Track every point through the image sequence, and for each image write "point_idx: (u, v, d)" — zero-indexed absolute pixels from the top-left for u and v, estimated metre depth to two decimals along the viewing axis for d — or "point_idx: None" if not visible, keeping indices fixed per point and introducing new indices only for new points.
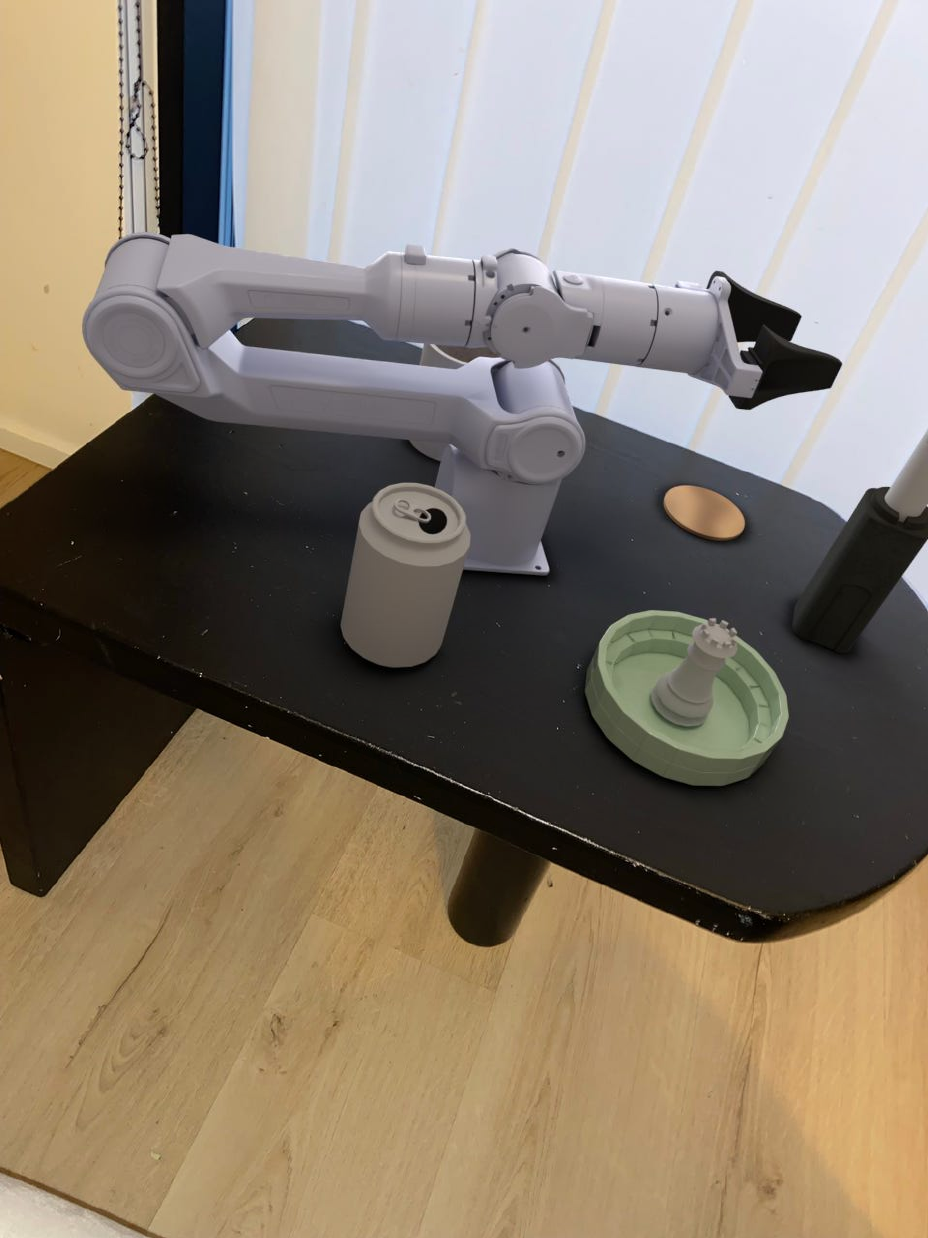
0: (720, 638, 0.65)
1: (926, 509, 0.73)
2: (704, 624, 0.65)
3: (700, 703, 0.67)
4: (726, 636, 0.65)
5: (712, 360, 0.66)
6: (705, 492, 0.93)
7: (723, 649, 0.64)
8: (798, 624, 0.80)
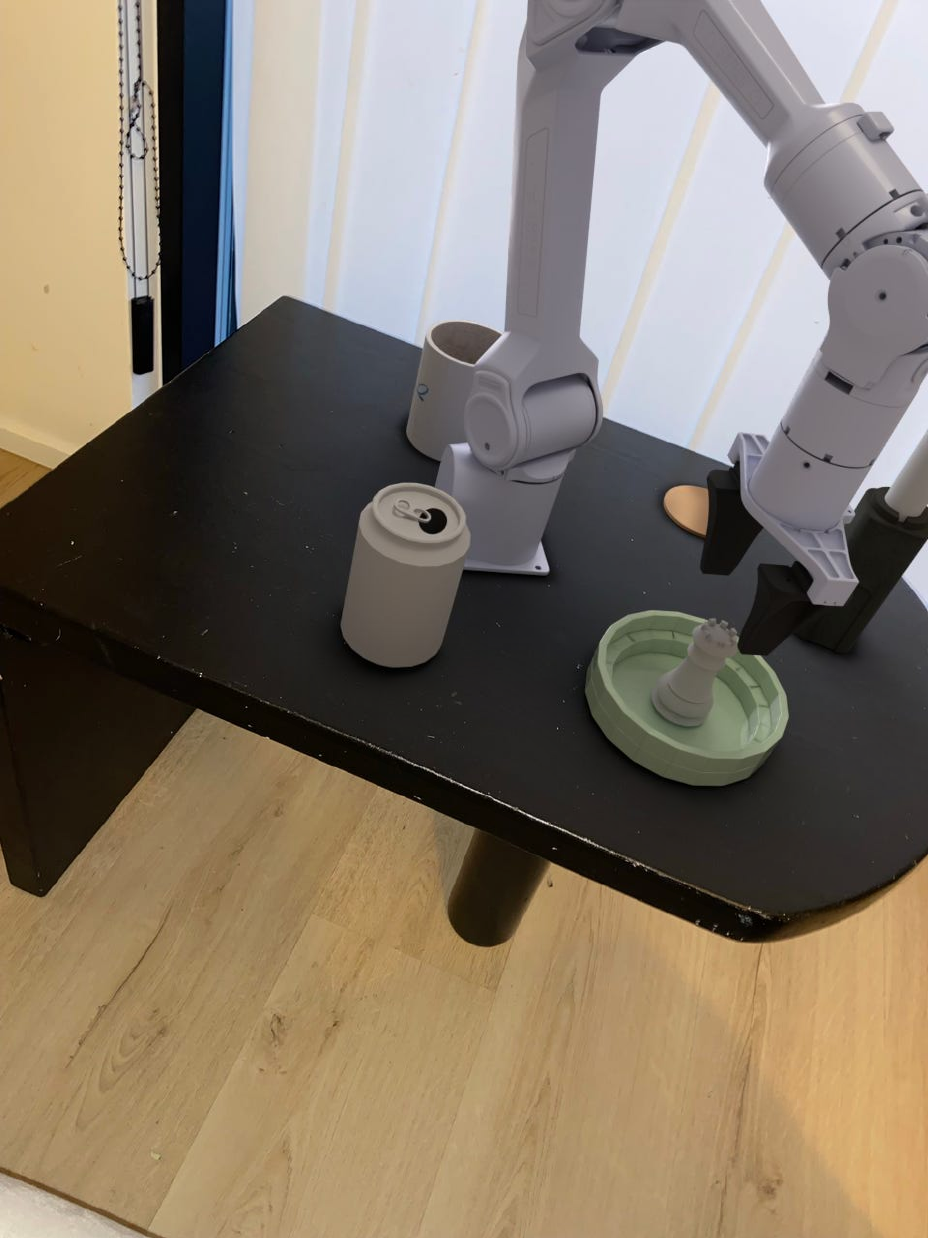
0: (720, 638, 0.65)
1: (926, 509, 0.73)
2: (704, 624, 0.65)
3: (700, 703, 0.67)
4: (726, 636, 0.65)
5: (803, 534, 0.55)
6: (705, 492, 0.93)
7: (723, 649, 0.64)
8: None
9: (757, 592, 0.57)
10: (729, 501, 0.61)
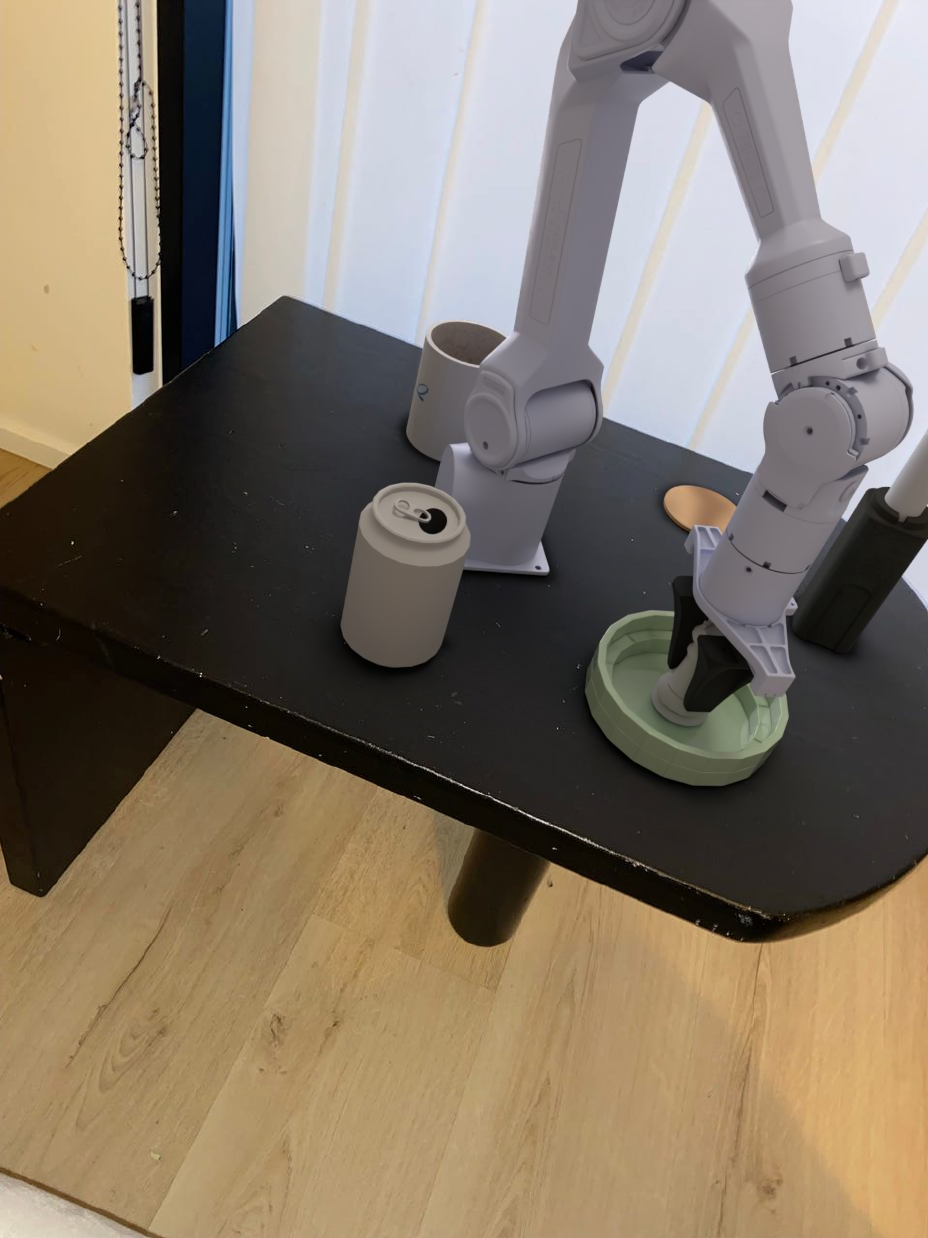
0: None
1: (926, 509, 0.73)
2: (704, 624, 0.65)
3: None
4: None
5: (747, 629, 0.60)
6: (705, 492, 0.93)
7: None
8: (798, 624, 0.80)
9: (698, 658, 0.63)
10: (692, 607, 0.65)
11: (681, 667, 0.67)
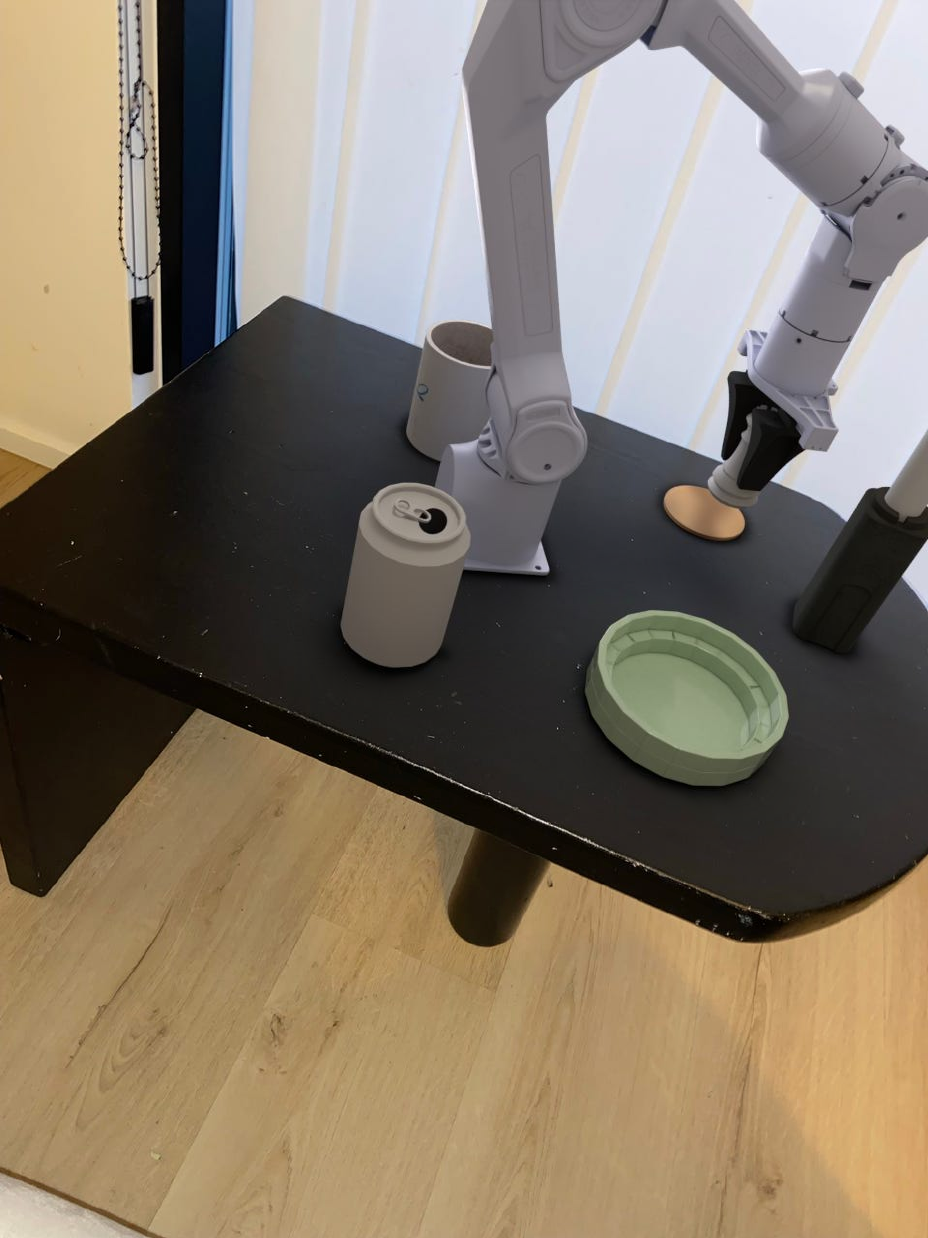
0: None
1: (926, 509, 0.73)
2: None
3: None
4: None
5: (796, 398, 0.70)
6: (705, 492, 0.93)
7: None
8: (798, 624, 0.80)
9: (752, 433, 0.73)
10: (746, 395, 0.75)
11: (735, 452, 0.77)
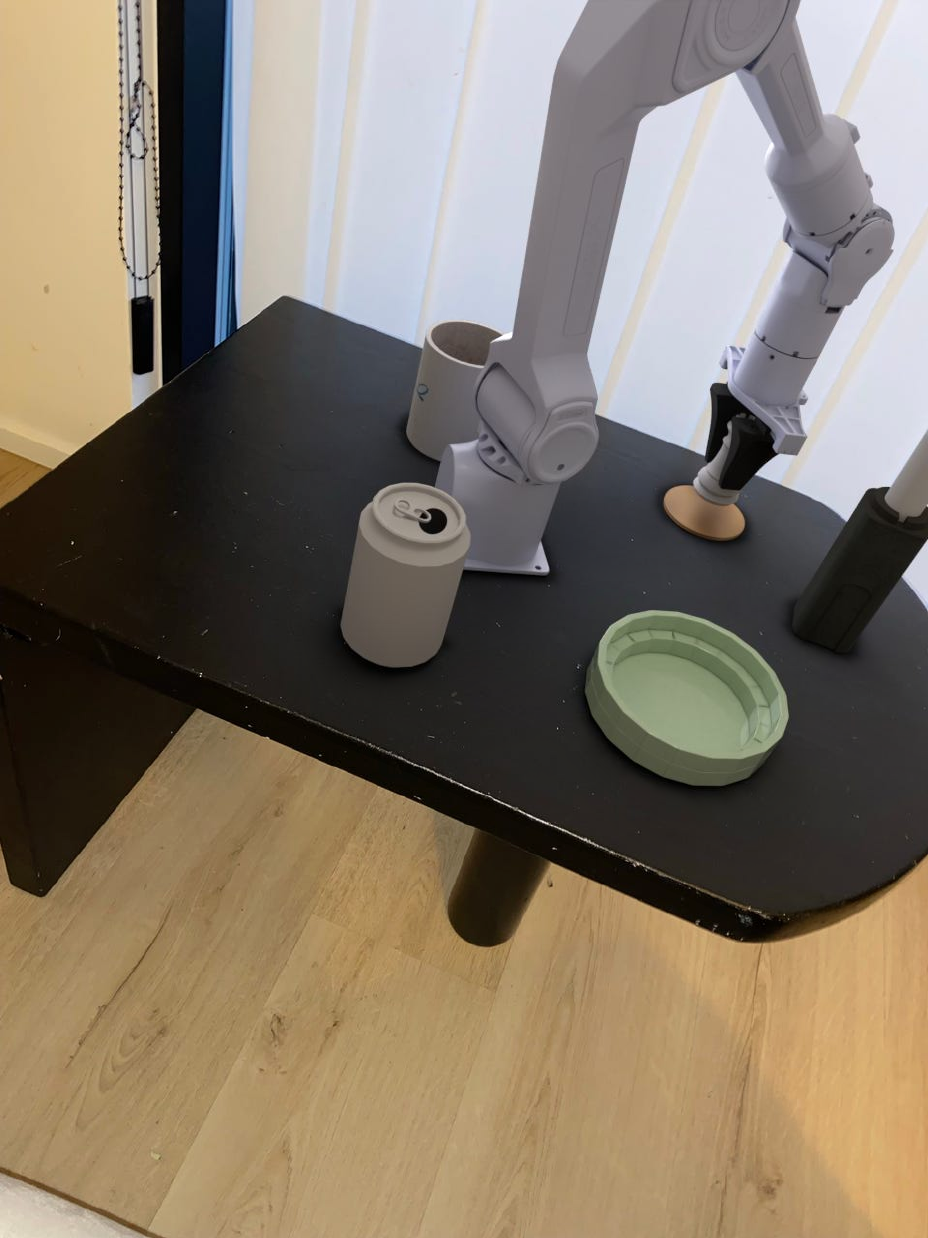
0: None
1: (926, 509, 0.73)
2: (736, 416, 0.84)
3: None
4: None
5: (770, 408, 0.79)
6: None
7: None
8: (798, 624, 0.80)
9: (732, 438, 0.82)
10: (726, 404, 0.84)
11: (718, 455, 0.86)
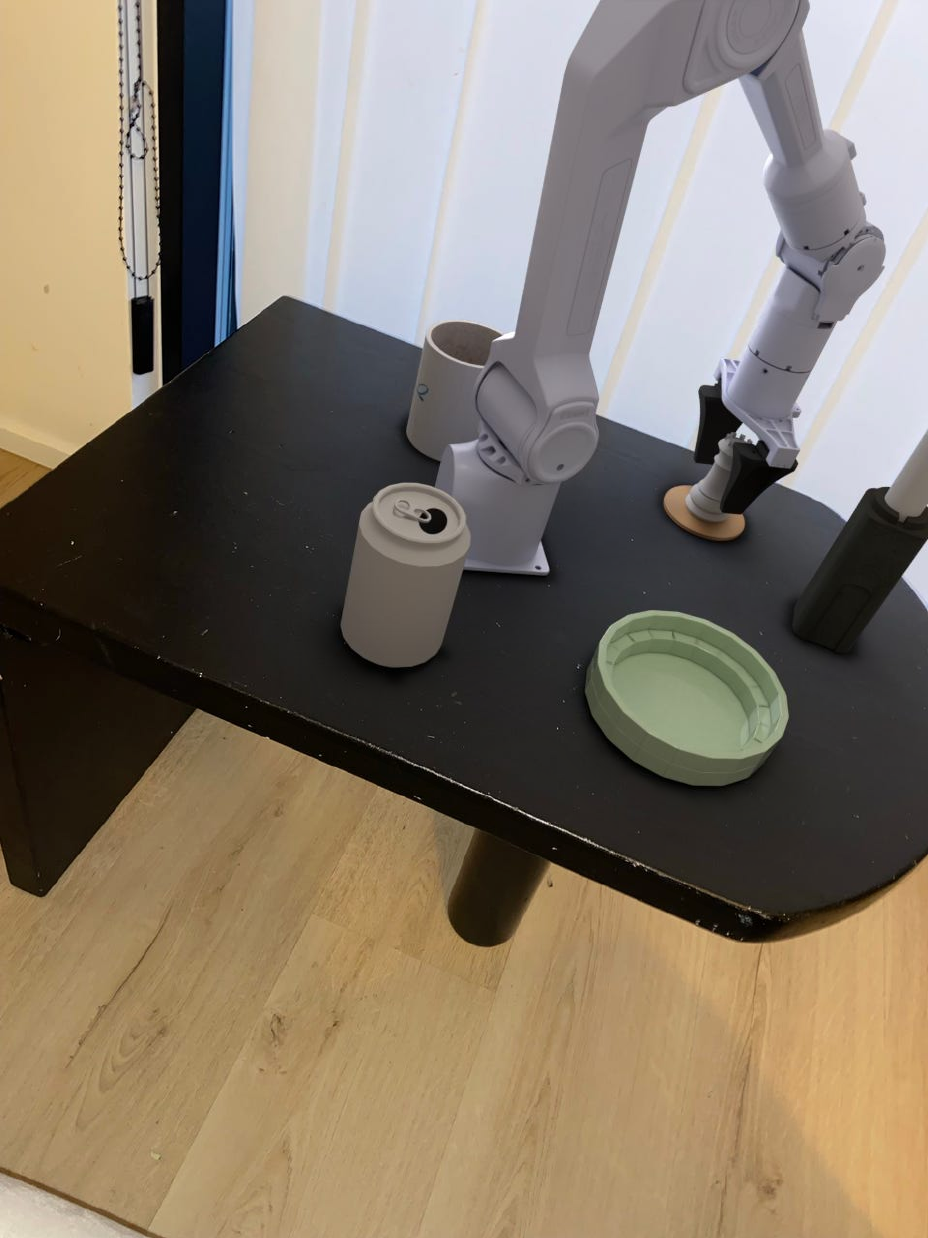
0: None
1: (926, 509, 0.73)
2: (727, 435, 0.85)
3: None
4: None
5: (764, 421, 0.80)
6: None
7: None
8: (798, 624, 0.80)
9: (733, 463, 0.82)
10: (714, 406, 0.86)
11: (709, 473, 0.87)
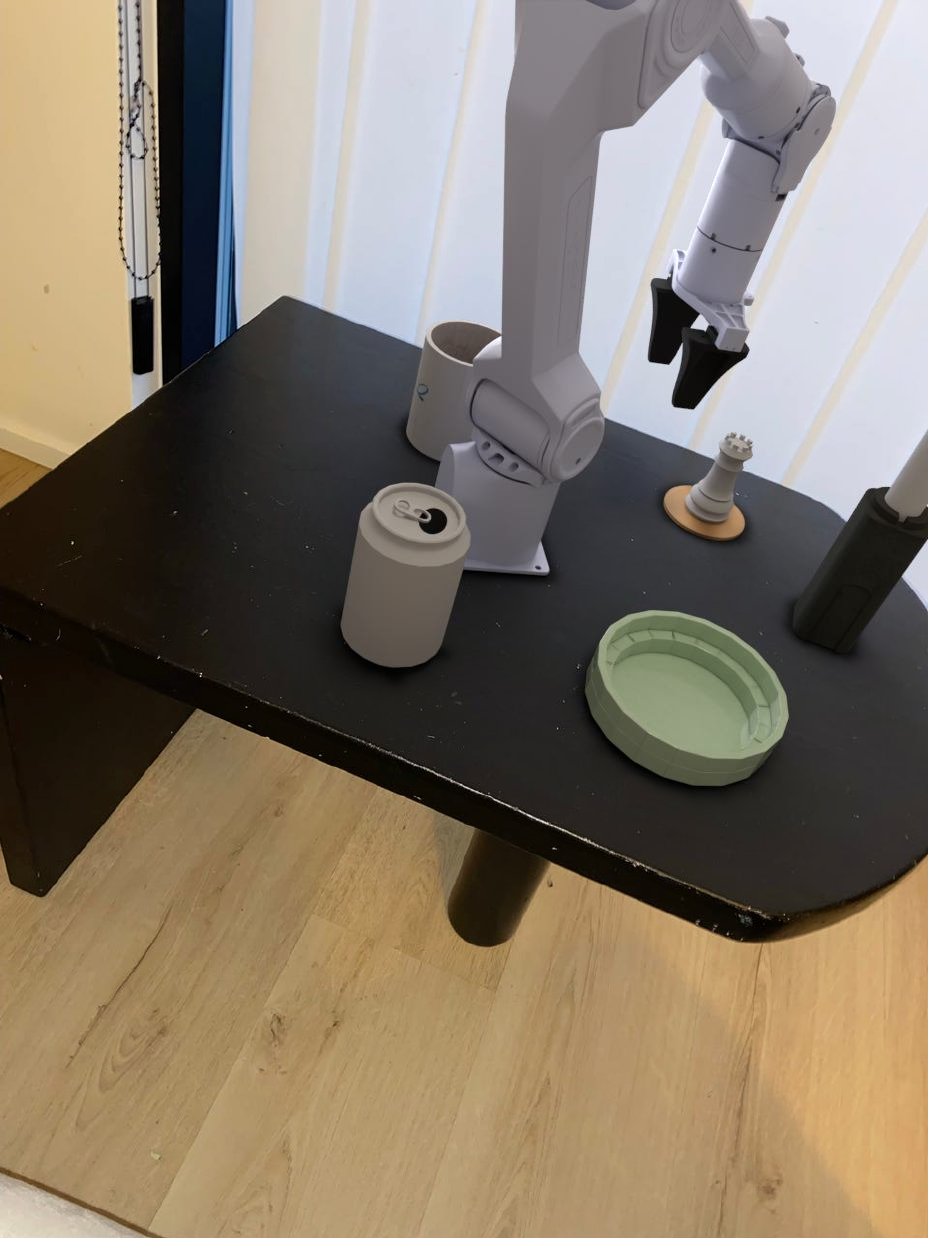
0: (740, 445, 0.85)
1: (926, 509, 0.73)
2: (727, 435, 0.85)
3: (724, 501, 0.88)
4: (744, 444, 0.85)
5: (714, 305, 0.77)
6: None
7: (742, 452, 0.84)
8: (798, 624, 0.80)
9: (683, 351, 0.79)
10: (666, 298, 0.84)
11: (709, 473, 0.87)
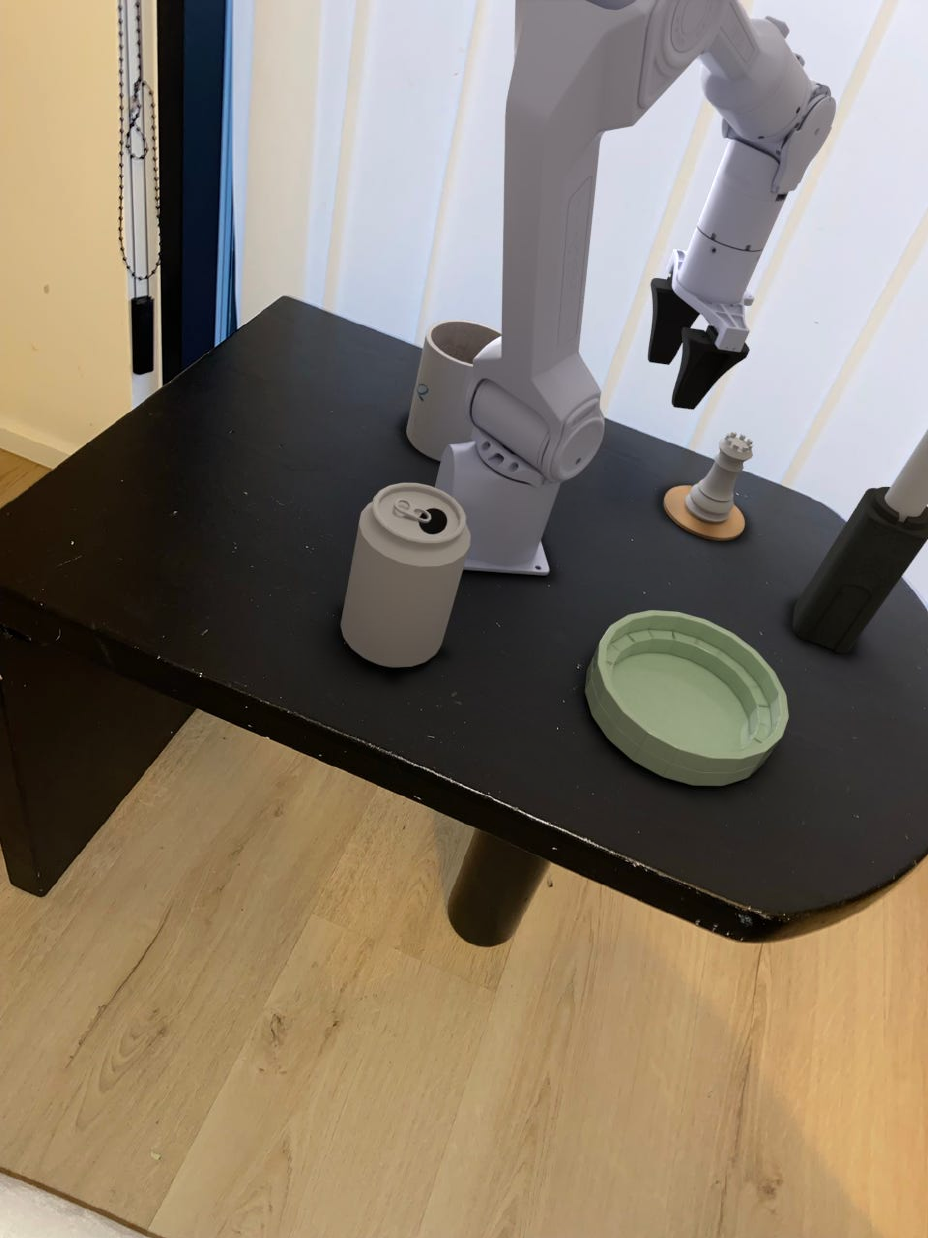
0: (740, 445, 0.85)
1: (926, 509, 0.73)
2: (727, 435, 0.85)
3: (724, 501, 0.88)
4: (744, 444, 0.85)
5: (714, 305, 0.77)
6: None
7: (742, 452, 0.84)
8: (798, 624, 0.80)
9: (683, 351, 0.79)
10: (666, 298, 0.84)
11: (709, 473, 0.87)
